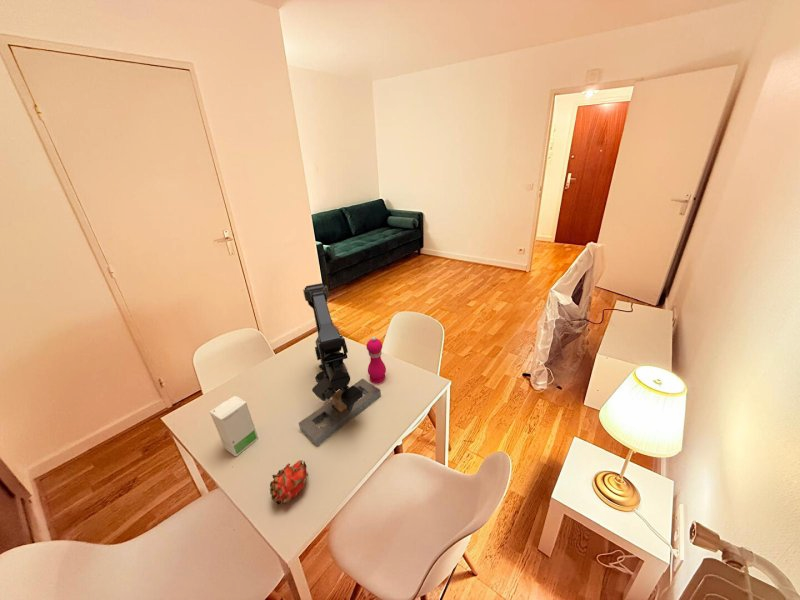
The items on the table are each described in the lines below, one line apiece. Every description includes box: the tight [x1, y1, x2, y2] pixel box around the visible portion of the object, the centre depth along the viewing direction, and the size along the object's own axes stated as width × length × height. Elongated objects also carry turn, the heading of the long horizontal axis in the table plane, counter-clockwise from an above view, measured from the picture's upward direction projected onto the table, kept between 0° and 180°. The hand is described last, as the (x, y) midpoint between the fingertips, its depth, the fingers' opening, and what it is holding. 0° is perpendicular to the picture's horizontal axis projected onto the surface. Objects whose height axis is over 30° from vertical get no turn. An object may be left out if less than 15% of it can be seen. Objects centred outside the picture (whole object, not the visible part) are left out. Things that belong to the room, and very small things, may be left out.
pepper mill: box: [366, 336, 387, 385], centre depth 116 cm, size 7×7×20 cm
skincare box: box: [209, 395, 259, 457], centre depth 92 cm, size 8×7×16 cm
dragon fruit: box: [269, 459, 309, 506], centre depth 80 cm, size 8×8×12 cm
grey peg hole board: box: [298, 378, 382, 447], centre depth 105 cm, size 10×28×3 cm, turn 138°
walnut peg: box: [331, 389, 347, 414], centre depth 103 cm, size 4×4×8 cm
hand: (341, 404), depth 104 cm, fingers open, 9 cm apart
